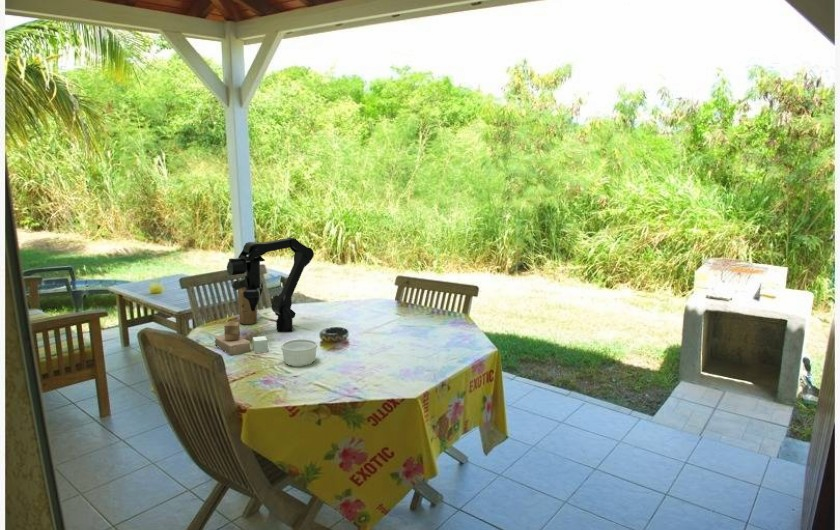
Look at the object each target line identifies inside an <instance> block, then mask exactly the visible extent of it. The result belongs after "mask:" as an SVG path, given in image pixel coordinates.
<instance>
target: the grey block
mask: <svg viewBox="0 0 840 530" xmlns="http://www.w3.org/2000/svg"><path fill="white" fill-rule="evenodd" d="M268 345H269V344H268V339H267V336H266V335H264V336H253V337H252V350H253V352H254V354H258V353H257V352H261V353H266V352H265V351H268V352H269V347H268Z"/></svg>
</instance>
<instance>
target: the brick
mask: <svg viewBox="0 0 840 530" xmlns="http://www.w3.org/2000/svg"><path fill="white" fill-rule="evenodd" d="M214 339H215V340H214V343H215V346H216V345H217V346H216V347H218V346H219V347H218V348H221V350H222V349H223V350H222V351H223V352H225V351H226V353H227V354H228V353H229V354H228V355H230V356H234V355H240V354H244V353H249V352H251V342H250V341H249V340H248V339H245V338H243V337H241V336H240V337H239V339H238V340H225V333H223V334H220V335H216V336H215V337H214ZM248 351H249V352H248Z"/></svg>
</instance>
